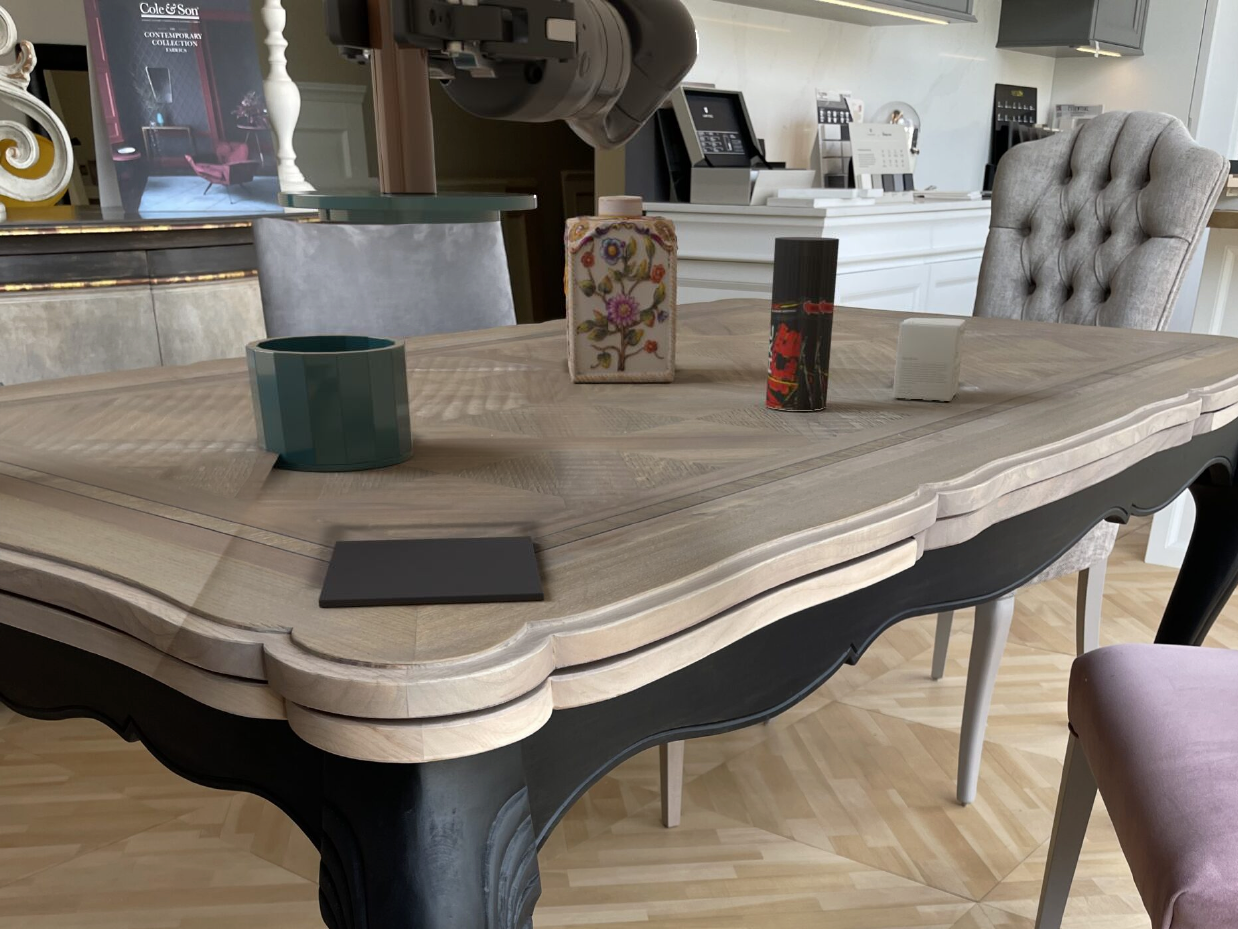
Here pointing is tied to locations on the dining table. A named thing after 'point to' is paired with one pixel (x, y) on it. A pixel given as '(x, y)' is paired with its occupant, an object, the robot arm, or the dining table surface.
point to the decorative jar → (621, 294)
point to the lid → (403, 149)
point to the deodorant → (801, 322)
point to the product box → (928, 358)
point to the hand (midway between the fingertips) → (366, 15)
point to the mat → (431, 572)
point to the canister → (331, 401)
